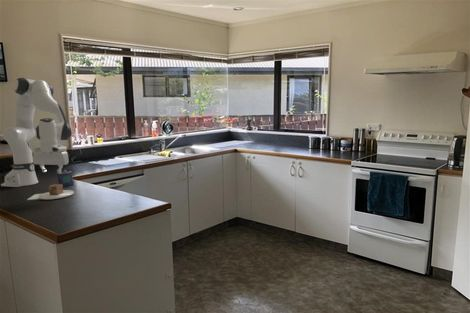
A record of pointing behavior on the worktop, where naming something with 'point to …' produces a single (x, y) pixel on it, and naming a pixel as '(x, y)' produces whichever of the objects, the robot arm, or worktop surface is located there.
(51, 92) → the robot arm
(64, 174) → the flask
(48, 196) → the plate
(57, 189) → the block
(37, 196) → the napkin
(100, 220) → the worktop surface
